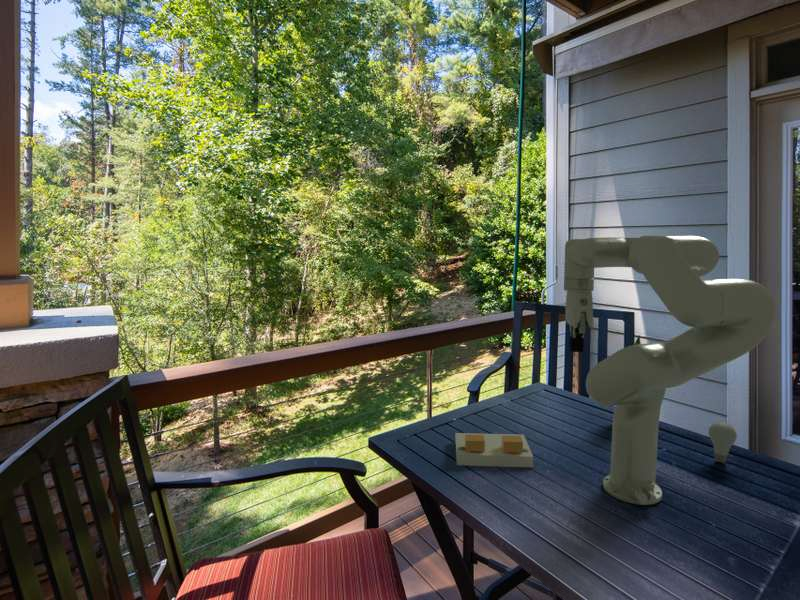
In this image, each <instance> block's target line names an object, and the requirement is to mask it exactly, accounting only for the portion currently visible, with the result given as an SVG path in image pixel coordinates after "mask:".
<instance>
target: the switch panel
mask: <svg viewBox="0 0 800 600" xmlns="http://www.w3.org/2000/svg"><path fill="white" fill-rule="evenodd" d="M465 434H468V435H484V440H485V452H476V451H466V447H465ZM454 435H455V436H454V439H455V441H454V442H455V445H456V446H455V456H456V458H455V460H456V461H455V462H456V466H467V465H468V466H472V467H474V466H476V467H499V468H500V467H504V468H509V467H510V468H534V455H533V453H532V451H531V449H530V446H529V444H528V441H527V439H526V436H525V434H519V433H518V434H514V433H513V434H509V433H507V434H506V433H477V432H475V433H471V432H469V433H468V432H455V434H454ZM502 435H505V436H521V439H522V441H523V453H509V452H503V449H502Z"/></svg>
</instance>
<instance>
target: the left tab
mask: <svg viewBox="0 0 800 600" xmlns="http://www.w3.org/2000/svg"><path fill="white" fill-rule="evenodd" d="M465 447H466V451H476V452H485V440H484V435H468V434H465Z"/></svg>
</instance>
